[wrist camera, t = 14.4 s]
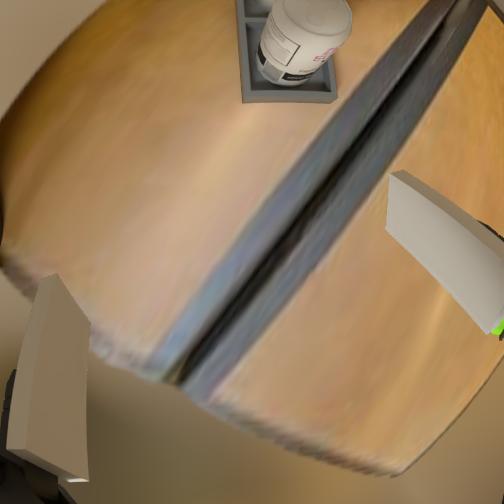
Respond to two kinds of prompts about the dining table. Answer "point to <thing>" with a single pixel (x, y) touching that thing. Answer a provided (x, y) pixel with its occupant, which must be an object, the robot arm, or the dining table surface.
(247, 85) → the divided grey tray
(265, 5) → the jar
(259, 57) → the supplement can
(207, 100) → the dining table surface
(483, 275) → the robot arm
